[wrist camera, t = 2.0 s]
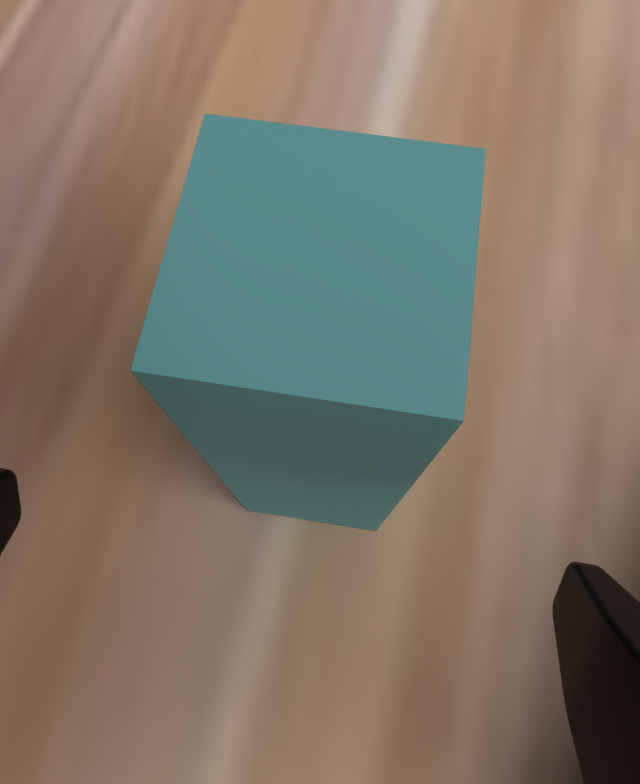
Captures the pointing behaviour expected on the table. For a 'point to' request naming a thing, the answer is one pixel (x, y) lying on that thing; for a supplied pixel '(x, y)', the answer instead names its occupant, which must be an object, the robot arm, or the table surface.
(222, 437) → the handle block
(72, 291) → the table surface
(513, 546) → the table surface
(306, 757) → the table surface
